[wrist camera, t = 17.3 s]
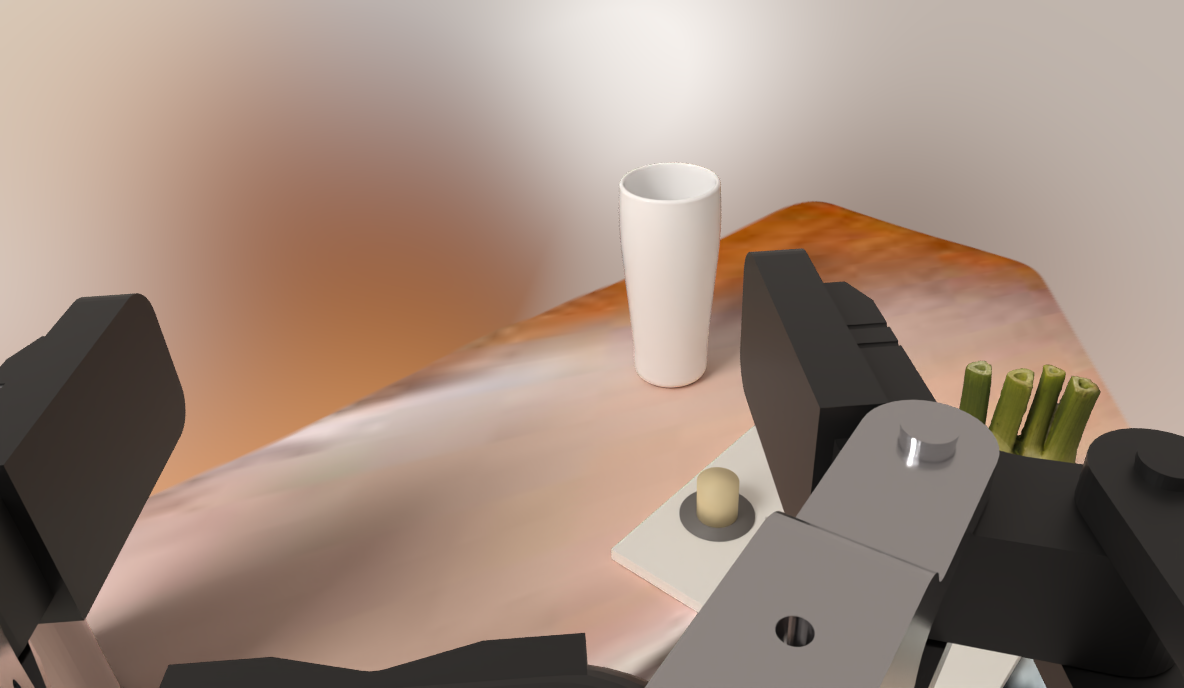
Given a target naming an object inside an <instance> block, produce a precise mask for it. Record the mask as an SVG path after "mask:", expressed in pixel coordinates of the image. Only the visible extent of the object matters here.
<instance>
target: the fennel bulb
mask: <svg viewBox="0 0 1184 688" xmlns="http://www.w3.org/2000/svg"><path fill="white" fill-rule="evenodd" d="M991 370H992V367H991V365H989V364H988V363H987V362H986V361H978V362H972V363H970V364H968V366H967V367H966V370H965V377H964V384H963V391H962V397H961V402H960V408H959V409H960V410H962V411H964V412H966V413H968V414H970V415H972V416H973V417H975V418H977V419H978V420H979V421H981V422H982V423H983V424H984V425H985V423H986V416H987V409H988V402H989V395H990V387H991V375H992V371H991ZM1065 375H1066V374H1065V371H1063V370H1062V369H1059V368H1057V367H1055V366H1052V365H1044V366H1043V372H1042V375H1041V378H1040V382H1039V385H1038V388H1037V391H1036V394H1035V397H1034V399H1033V403H1032V405H1031V408H1030V410H1029V413H1028V415H1027V420H1026V422H1025V425H1024V428H1023V429H1022V431H1021V435H1017V433H1018V430H1019V427H1020V424H1021V421H1022V417H1023V415H1024V413H1025V412H1026V409H1027V404H1028V401H1029V399H1030V396H1031V391H1032V388H1033V380H1034V372H1033V371H1031V370H1029V369H1023V368H1021V369H1016V370H1012V371H1010V372H1008V374H1007V376H1006V379H1005V382H1004V385H1003V389H1002V391H1001V396H1000V398H999V401H998V403H997V406H996V409H995V412H994V415H993V418H992V420H991V425H990V426H989V428H988V429H989V430H990V431H991V432H992V433H993V435H994V436H995V438H996V440H997V442H998V445H999V450H1000V451H1004V452H1008V453H1011V454H1015V455H1021V456H1026V457H1033V458H1040V459H1047V460H1054V461H1061V462H1069V463H1075V460H1076V454H1077V449H1078V446H1079V443H1080V440H1081V437H1082V434H1083V431H1084V429H1085V426H1086V423H1087V421H1088V419H1089V417H1090V414H1091V411H1092V409H1093V407H1094V405H1095V403H1096V400H1097V399H1098V396H1099V394H1100V390H1099V388H1098V386H1097V385H1096V384H1095V383H1093V382H1092V381H1091V380H1090V379H1087V378H1082V377H1078V376H1077V377H1075V376H1072V377H1071V379H1070V381H1069V382H1068V385H1067V387H1066V390H1065V392H1064V395H1063V396H1062V398H1061V400H1060V403H1057V401H1058V397H1059V394H1060V392H1061V390H1062V385H1063V382H1064V380H1065Z"/></svg>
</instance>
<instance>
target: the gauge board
mask: <svg viewBox="0 0 1184 688" xmlns="http://www.w3.org/2000/svg"><path fill="white" fill-rule="evenodd" d="M775 511H781V512H783V513H784V510H783V507H782V504H781V501H780V498H779V495H778V492H777V489H776V486H775V483H774V480H773V477H772V474H771V471H770V468H769V465H768V462H767V459H766V456H765V453H764V450H763V447H762V444H761V441H760V438H759V435H758V432H757V429H756V426H755V425H754V426H753V427H752V428H750V429H749V430H748V431H747V432H746V433H745V434H744V435H742V436H741V437H740V438H739V439H738V440H737V441H735V442H734V443H733V444H732V445H731V446H730V447H729V448H727V449H726V450H725V451H724V452H723V453H722V454H720V455H719V456H718V457H717V458H716V459H715V460H714V461H712V462H711V463H710V464H709V465H708V466H707V467H705V468H704V469H703V470H702V471H701V472H700V473H698V474H697V475H696V476H695V477H694V478H693V479H692V480H690V481H689V482H688V483H687V484H686V485H685V486H683V487H682V488H681V489H680V490H679V491H678V492H677V493H675V494H674V495H673V496H672V497H671V498H670V499H668V500H667V501H666V502H665V503H664V504H663V505H662V506H660V507H659V508H658V509H657V510H656V511H655V512H653V513H652V514H651V515H650V516H649V517H648V518H646V519H645V520H644V521H643V522H642V523H641V524H640V525H638V526H637V527H636V528H635V529H634V530H633V531H631V532H630V533H629V534H628V535H627V536H626V537H625V538H623V539H622V540H621V541H620V542H619V543H618V544H616V545H615V546H614V547H613V548H612V549H611V553H612V559H613V560H614V561H616V562H617V563H619V564H621V565H622V566H624V567H625V568H627V569H629V570H630V571H632V572H633V573H635V574H637V575H638V576H640V577H641V578H643V579H645V580H646V581H648V582H650V583H651V584H653V585H654V586H656V587H658V588H659V589H661V590H662V591H664V592H666V593H667V594H669V595H670V596H672V597H674V598H675V599H677V600H679V601H680V602H682V603H683V604H685V605H687V606H688V607H690V608H691V609H693V610H695V611H696V612H699V611H700V610H701V608H702V607H703V606H704V604H705V603H706V601H707V600H708V599H709V597H710V596H711V594H712V593H713V592H714V590H715V589H716V587H717V586H718V585H719V583H720V582H721V580H722V579H723V578H724V576H725V575H726V573H727V572H728V571H729V569H730V568H731V566H732V565H733V564H734V562H735V561H736V559H737V558H738V557H739V555H740V554H741V552H742V551H743V550H744V548H745V547H746V545H747V544H748V543H749V541H750V540H751V538H752V537H753V536H754V534H755V533H756V532H757V530H758V529H759V527H760V526H761V525H762V523H763V522H764V521H765V519H766V518H767V517H768V516H769V515H770V514H772V513H773V512H775ZM1020 659H1021V657H1020V656H1015V655H1010V654H1005V653H999V652H994V651H989V650H984V649H979V648H974V647H968V646H963V645H958V644H953V643H952V646H951V648H950V651H949V653H948V656H947V658H946V660H945V663H944V665H943V667H942V670H941V672H940V675H939V677H938V679H937V682H936V684H935V686H934V688H1003V687H1004V685H1005V684H1006V682H1007V680H1008V679H1009V677H1010V675H1011V674H1012V672H1013V670H1014V669H1015V667H1016V665H1017V664H1018V662H1019V660H1020Z"/></svg>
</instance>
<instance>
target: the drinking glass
mask: <svg viewBox="0 0 1184 688" xmlns="http://www.w3.org/2000/svg"><path fill="white" fill-rule="evenodd" d="M619 227H620V228H619V229H620V242H621V251H622V258H623V267H624V274H625V282H626V289H627V297H628V305H629V313H630V321H631V329H632V337H633V346H634V365H635V369H636V372H637V373H638V375H639V376H640V377H641V378H642V379H643V380H645V381H646V382H648V383H650V384H653V385H656V386H660V387H668V388H673V387H681V386H686V385H689V384H691V383H693V382H695V381H696V380H698V379H699V378H700V377H701V376H702V375H703V374H704V372H705V370H706V366H707V346H708V336H709V327H710V319H711V310H712V302H713V294H714V286H715V278H716V270H717V262H718V254H719V244H720V232H721V182H720V179H719V177H718V176H717V175H716V174H715V173H714V172H713V171H711V170H709V169H707V168H704V167H701V166H698V165H694V164H688V163H657V164H650V165H646V166H642V167H639V168H636V169H634V170H632V171H630V172H628V173H627V174H625V175H624V176H623V177H622V178H621V180H620V183H619Z"/></svg>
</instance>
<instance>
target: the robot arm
mask: <svg viewBox="0 0 1184 688" xmlns="http://www.w3.org/2000/svg"><path fill="white" fill-rule="evenodd" d="M740 362H741V375H742V382H743V388H744V392H745V396H746V399H747V402H748V405H749V408H750V411H751V414H752V417H753V420H754V423H755V426H756V429H757V432H758V435H759V438H760V441H761V444H762V447H763V450H764V453H765V456H766V459H767V462H768V465H769V468H770V471H771V474H772V477H773V480H774V483H775V486H776V489H777V492H778V495H779V498H780V501H781V504H782V507H783V510H784V513H783V512H781V511H775V512H773V513H772V514H770V515H769V516H768V517H767V518H766V519H765V521H764V522H763V523H762V525H761V526H760V527H759V529H758V530H757V532H756V533H755V534H754V536H753V537H752V538H751V540H750V541H749V543H748V544H747V545H746V547H745V548H744V550H743V551H742V552H741V554H740V555H739V557H738V558H737V559H736V561H735V562H734V564H733V565H732V566H731V568H730V569H729V571H728V572H727V573H726V575H725V576H724V578H723V579H722V580H721V582H720V583H719V585H718V586H717V587H716V589H715V590H714V592H713V593H712V594H711V596H710V597H709V599H708V600H707V601H706V603H705V604H704V606H703V607H702V608H701V610H700V611H699V612H698V614H697V615H696V617H695V618H694V619H693V621H692V622H691V624H690V625H689V626H688V628H687V629H686V631H685V632H684V633H683V635H682V636H681V638H680V639H679V640H678V642H677V643H676V645H675V646H674V647H673V649H672V650H671V652H670V653H669V654H668V656H667V657H666V659H665V660H664V661H663V663H662V664H661V666H660V667H659V668H658V670H657V671H656V673H655V674H654V675H653V677H652V678H651V680H650V681H649V682H648V681H646V680H643V679H641V678H639V677H636V676H634V675H631V674H628V673H624V672H620V671H617V670H613V669H610V668H605V667H599V666H593V665H588V663H587V650H586V638H585V633H577V634H564V635H551V636H538V637H525V638H512V639H499V640H486V641H481V642H477V643H474V644H470V645H467V646H464V647H460V648H457V649H453V650H450V651H446V652H443V653H439V654H436V655H433V656H429V657H426V658H422V659H419V660H415V661H412V662H409V663H405V664H402V665H398V666H395V667H391V668H388V669H384V670H380V671H370V672H369V671H359V670H353V669H346V668H340V667H333V666H327V665H320V664H314V663H307V662H301V661H294V660H288V659H281V658H275V657H265V658H252V659H239V660H226V661H213V662H200V663H187V664H174V665H168V668H167V670H166V673H165V675H164V678H163V680H162V683H161V685H160V688H934V686H935V684H936V682H937V679H938V677H939V675H940V672H941V670H942V667H943V665H944V663H945V660H946V658H947V656H948V653H949V651H950V648H951V646H952V643H953V644H958V645H963V646H968V647H974V648H979V649H984V650H989V651H994V652H999V653H1005V654H1010V655H1015V656H1020V657H1025V658H1030V659H1033V660H1034V662H1035V664H1036V666H1037V668H1038V671H1039V673H1040V675H1041V677H1042V679H1043V681H1044V683H1045V685H1046V687H1047V688H1184V437H1183V436H1179V435H1176V434H1173V433H1169V432H1164V431H1159V430H1151V429H1142V428H1139V429H1138V428H1129V429H1119V430H1115V431H1110V432H1108V433H1105V434H1103V435H1101V436H1099V437H1098V438H1096V439H1095V440H1094V441H1093V442H1092V443H1091V445H1090V446H1089V449H1088V452H1087V455H1086V458H1085V461H1084V464H1076V463H1069V462H1061V461H1054V460H1047V459H1040V458H1033V457H1026V456H1021V455H1015V454H1011V453H1008V452H1004V451H1000V450H999V445H998V442H997V440H996V438H995V436H994V435H993V433H992V432H991V431H990V430H989V429H988V427H987V426H986V425H984V424H983V423H982V422H981V421H979V420H978V419H977V418H975V417H973V416H972V415H970V414H968V413H966V412H964V411H962V410H960V409H958V408H955V407H952V406H949V405H946V404H942V403H938V402H936V400H935V399H934V397H933V395H932V394H931V392H930V391H929V389H928V387H927V386H926V384H925V383H924V381H923V380H922V378H921V376H920V375H919V373H918V372H917V370H916V368H915V367H914V365H913V364H912V362H911V360H910V359H909V357H908V356H907V354H906V352H905V351H904V349H903V348H902V346H901V345H900V346H899V345H898V340H897V338H896V336H895V335H894V333H893V332H892V330H891V328H890V327H887V322H886V320H885V319H884V317H883V316H882V314H881V312H880V311H879V309H878V308H877V306H876V305H875V303H874V301H873V300H872V299H870V298H869V297H867V296H866V295H864V294H863V293H861V292H860V291H858V290H857V289H855V288H854V287H852V286H851V285H849V284H848V283H846V282H832V283H823V282H822V280H821V278H820V276H819V274H818V273H817V271H816V269H815V267H814V265H813V263H812V262H811V260H810V258H809V256H808V254H807V253H806V251H805V250H804V249H789V250H775V251H760V252H749V253H748V254H747V256H746V259H745V265H744V281H743V303H742V324H741V346H740ZM184 423H185V399H184V394H183V390H182V387H181V384H180V381H179V378H178V375H177V373H176V370H175V367H174V365H173V361H172V359H171V356H170V353H169V350H168V348H167V345H166V342H165V339H164V336H163V334H162V331H161V328H160V326H159V323H158V320H157V317H156V314H155V312H154V310H153V307H152V305H151V303H150V302H149V301H148V299H147V298H146V297H145V296H143V295H141V294H138V293H136V294H124V295H123V294H122V295H109V296H94V297H82V298H79V299H77V300H76V301H75V302H74V303H73V304H72V305H71V306H70V307H69V309H68V310H67V311H66V312H65V313H64V315H63V316H62V317H61V318H60V319H59V320H58V322H57V323H56V324H55V325H54V326H53V328H52V329H51V330H50V331H49V332H48V334H47V335H46V336H42V337H40V338H39V339H37V340H36V341H34V342H33V343H31V344H30V345H28V346H27V347H25V348H23V349H22V350H20V351H19V352H18V353H16V354H15V355H13V356H11V357H10V358H8V359H7V360H6V361H5V362H4V363H3V364H2V365H1V366H0V688H120V685H119V683H118V681H117V679H116V677H115V675H114V673H113V672H112V670H111V668H110V666H109V664H108V662H107V660H106V658H105V656H104V654H103V652H102V650H101V648H100V646H99V645H98V643H97V641H96V639H95V636H94V634H93V632H92V630H91V628H90V626H89V624H88V623H87V621H86V619H85V618H86V616H87V614H88V613H89V611H90V609H91V607H92V605H93V603H94V601H95V599H96V597H97V595H98V593H99V591H100V590H101V588H102V586H103V584H104V582H105V580H106V578H107V576H108V574H109V572H110V570H111V568H112V567H113V565H114V563H115V561H116V559H117V557H118V555H119V553H120V551H121V549H122V547H123V545H124V544H125V542H126V540H127V538H128V536H129V534H130V532H131V530H132V528H133V526H134V524H135V522H136V521H137V519H138V517H139V515H140V513H141V511H142V509H143V507H144V505H145V503H146V501H147V499H148V498H149V496H150V494H151V492H152V490H153V488H154V486H155V484H156V482H157V480H158V478H159V476H160V475H161V472H162V471H163V469H164V467H165V465H166V463H167V461H168V459H169V457H170V455H171V453H172V451H173V450H174V448H175V446H176V444H177V442H178V440H179V438H180V436H181V434H182V431H183V428H184Z"/></svg>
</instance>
